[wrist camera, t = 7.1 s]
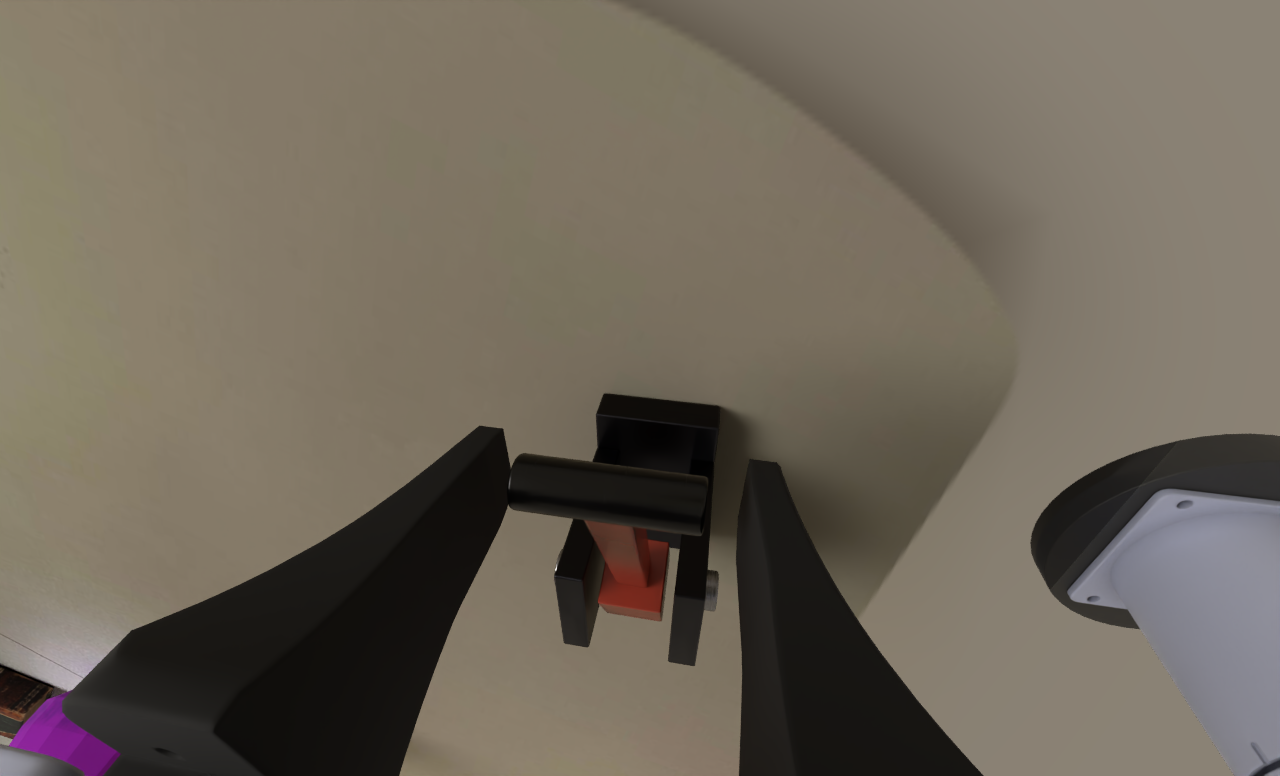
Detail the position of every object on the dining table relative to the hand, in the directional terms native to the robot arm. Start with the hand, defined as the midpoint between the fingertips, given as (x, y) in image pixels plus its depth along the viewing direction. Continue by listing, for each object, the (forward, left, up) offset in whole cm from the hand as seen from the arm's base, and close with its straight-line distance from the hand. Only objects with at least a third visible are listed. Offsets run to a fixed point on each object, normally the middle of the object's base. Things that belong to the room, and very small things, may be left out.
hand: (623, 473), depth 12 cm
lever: (0, +4, -2) cm, 4 cm away
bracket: (0, +8, -8) cm, 12 cm away
